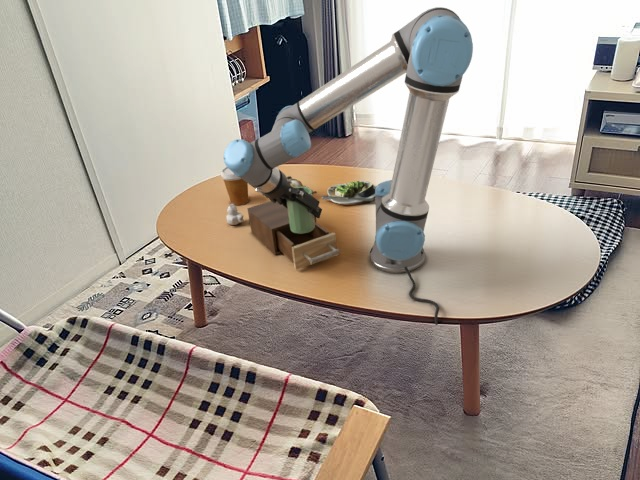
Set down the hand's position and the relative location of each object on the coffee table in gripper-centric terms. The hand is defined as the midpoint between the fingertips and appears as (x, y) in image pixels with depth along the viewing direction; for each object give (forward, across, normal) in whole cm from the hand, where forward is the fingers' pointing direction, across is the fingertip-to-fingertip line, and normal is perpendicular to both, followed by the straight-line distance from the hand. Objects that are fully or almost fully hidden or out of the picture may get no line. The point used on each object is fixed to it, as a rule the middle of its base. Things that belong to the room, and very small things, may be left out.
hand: (307, 211), depth 161 cm
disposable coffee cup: (+23, -42, +5) cm, 49 cm away
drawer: (+5, +1, -11) cm, 13 cm away
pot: (0, 0, -5) cm, 5 cm away
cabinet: (+12, -13, -6) cm, 18 cm away
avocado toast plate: (+36, -6, +18) cm, 40 cm away
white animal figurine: (+13, -33, -6) cm, 36 cm away
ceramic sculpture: (+29, -25, +11) cm, 40 cm away
